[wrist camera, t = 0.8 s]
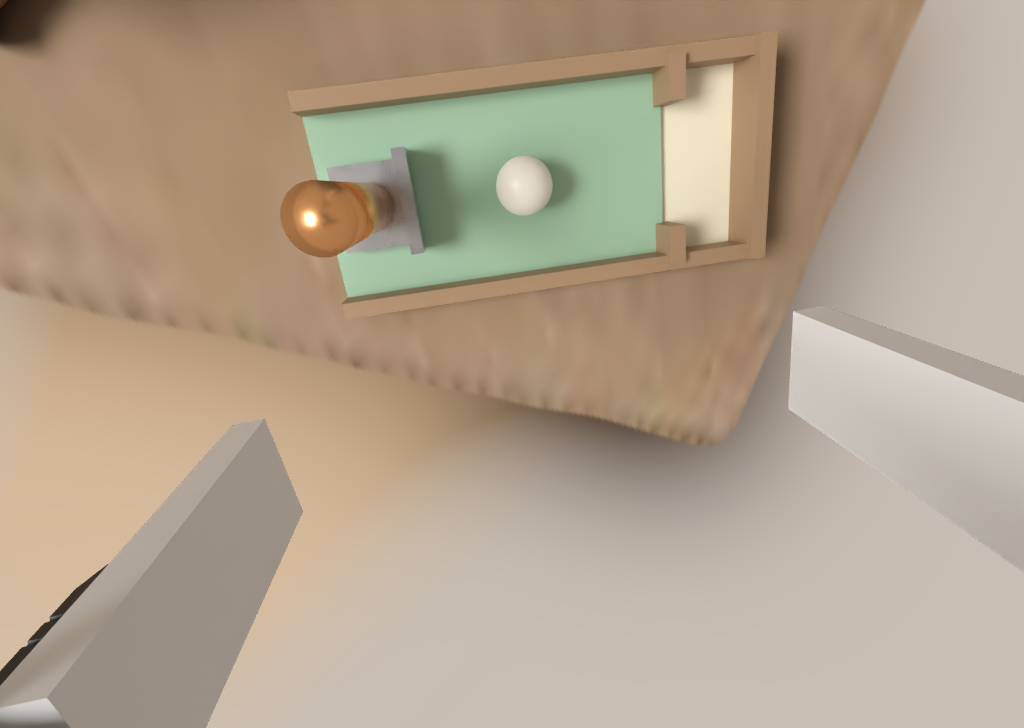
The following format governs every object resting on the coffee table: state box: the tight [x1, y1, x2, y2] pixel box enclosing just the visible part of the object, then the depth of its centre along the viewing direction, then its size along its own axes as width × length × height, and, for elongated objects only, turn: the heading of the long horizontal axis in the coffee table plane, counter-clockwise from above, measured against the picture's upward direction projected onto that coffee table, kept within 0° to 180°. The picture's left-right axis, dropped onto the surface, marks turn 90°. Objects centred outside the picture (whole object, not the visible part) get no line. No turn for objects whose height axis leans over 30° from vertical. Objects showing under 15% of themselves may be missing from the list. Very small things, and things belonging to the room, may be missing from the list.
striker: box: [280, 146, 426, 257], centre depth 24 cm, size 6×5×13 cm
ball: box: [496, 155, 553, 216], centre depth 30 cm, size 4×4×4 cm
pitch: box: [287, 30, 778, 319], centre depth 31 cm, size 13×28×4 cm, turn 98°
